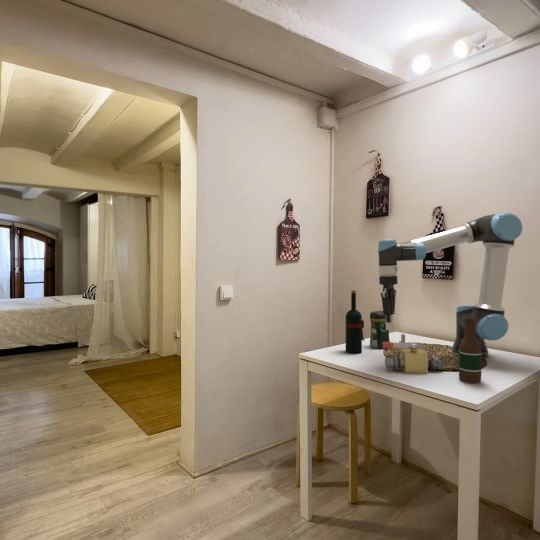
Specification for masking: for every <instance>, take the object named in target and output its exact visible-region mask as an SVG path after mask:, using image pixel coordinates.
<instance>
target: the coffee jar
mask: <svg viewBox="0 0 540 540" xmlns="http://www.w3.org/2000/svg"><path fill="white" fill-rule="evenodd" d="M369 321H370V338H369V347H371V348H372V349H384V348H383V342H391V341H390V330H386V315H384V314H383V310H375V311H374V310H373V311H371V312H370V313H369Z"/></svg>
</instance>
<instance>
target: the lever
mask: <svg viewBox="0 0 540 540" xmlns="http://www.w3.org/2000/svg"><path fill="white" fill-rule="evenodd" d="M394 348H397V349H401V348H408V349H420V343H418V342H407V343H406V342H405V343H399V342H393V341H390V342H383V348H382V349H394Z"/></svg>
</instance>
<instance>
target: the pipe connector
mask: <svg viewBox="0 0 540 540" xmlns="http://www.w3.org/2000/svg"><path fill="white" fill-rule="evenodd" d="M398 343H406V334H405V333H401V334H400V340H399V341H398ZM400 349H409V348H400Z"/></svg>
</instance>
